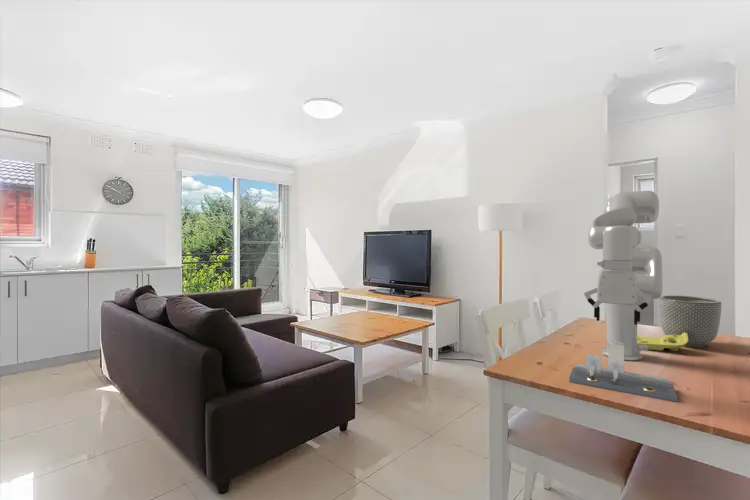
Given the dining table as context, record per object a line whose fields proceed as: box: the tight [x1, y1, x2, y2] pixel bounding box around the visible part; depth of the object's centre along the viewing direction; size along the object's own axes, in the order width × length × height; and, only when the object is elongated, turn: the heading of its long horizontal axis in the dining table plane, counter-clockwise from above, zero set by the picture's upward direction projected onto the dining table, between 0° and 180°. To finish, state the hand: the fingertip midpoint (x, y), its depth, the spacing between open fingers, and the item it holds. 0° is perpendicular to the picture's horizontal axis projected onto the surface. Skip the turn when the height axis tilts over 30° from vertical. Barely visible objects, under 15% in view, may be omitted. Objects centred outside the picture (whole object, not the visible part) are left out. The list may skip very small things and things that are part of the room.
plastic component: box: [637, 333, 688, 352], centre depth 149 cm, size 20×7×10 cm
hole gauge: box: [568, 353, 678, 403], centre depth 112 cm, size 26×10×7 cm, turn 56°
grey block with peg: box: [607, 341, 625, 382], centre depth 112 cm, size 4×8×10 cm, turn 146°
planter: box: [658, 294, 723, 349], centre depth 153 cm, size 20×20×19 cm
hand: (616, 322), depth 113 cm, fingers open, 9 cm apart
